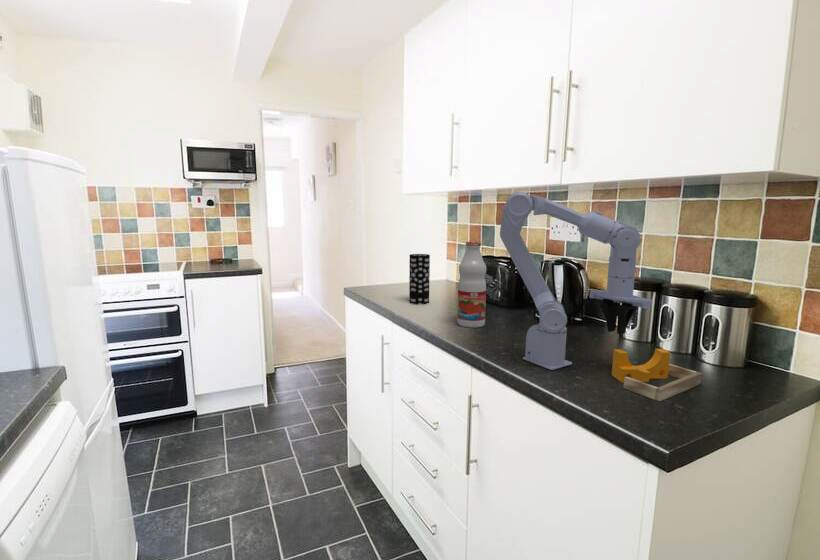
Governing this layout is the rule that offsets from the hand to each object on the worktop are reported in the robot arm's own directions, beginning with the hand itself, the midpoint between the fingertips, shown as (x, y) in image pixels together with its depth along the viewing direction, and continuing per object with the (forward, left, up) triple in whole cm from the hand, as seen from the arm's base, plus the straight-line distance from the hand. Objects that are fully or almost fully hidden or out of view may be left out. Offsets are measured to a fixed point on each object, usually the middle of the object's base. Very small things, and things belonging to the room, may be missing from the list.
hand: (616, 332), depth 103 cm
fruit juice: (-50, -3, -10) cm, 51 cm away
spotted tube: (-88, +1, -10) cm, 89 cm away
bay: (+12, 0, -9) cm, 15 cm away
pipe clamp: (+7, 0, -10) cm, 12 cm away
